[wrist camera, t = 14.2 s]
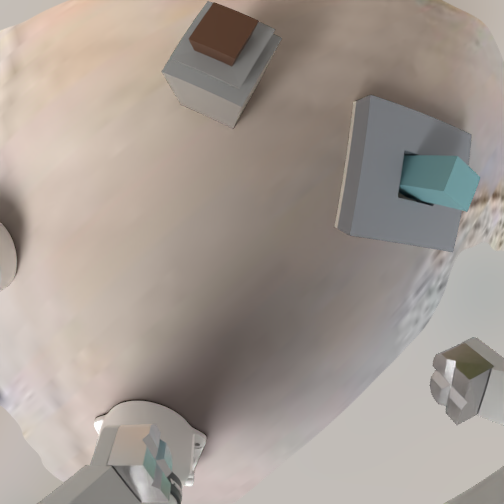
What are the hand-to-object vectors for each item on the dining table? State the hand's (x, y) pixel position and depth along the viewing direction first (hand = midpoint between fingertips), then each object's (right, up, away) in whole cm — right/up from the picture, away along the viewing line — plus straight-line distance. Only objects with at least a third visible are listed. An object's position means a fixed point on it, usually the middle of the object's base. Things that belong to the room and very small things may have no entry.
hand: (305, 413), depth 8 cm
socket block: (+18, +14, +31) cm, 38 cm away
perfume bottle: (-5, +23, +26) cm, 35 cm away
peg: (+18, +14, +30) cm, 37 cm away
